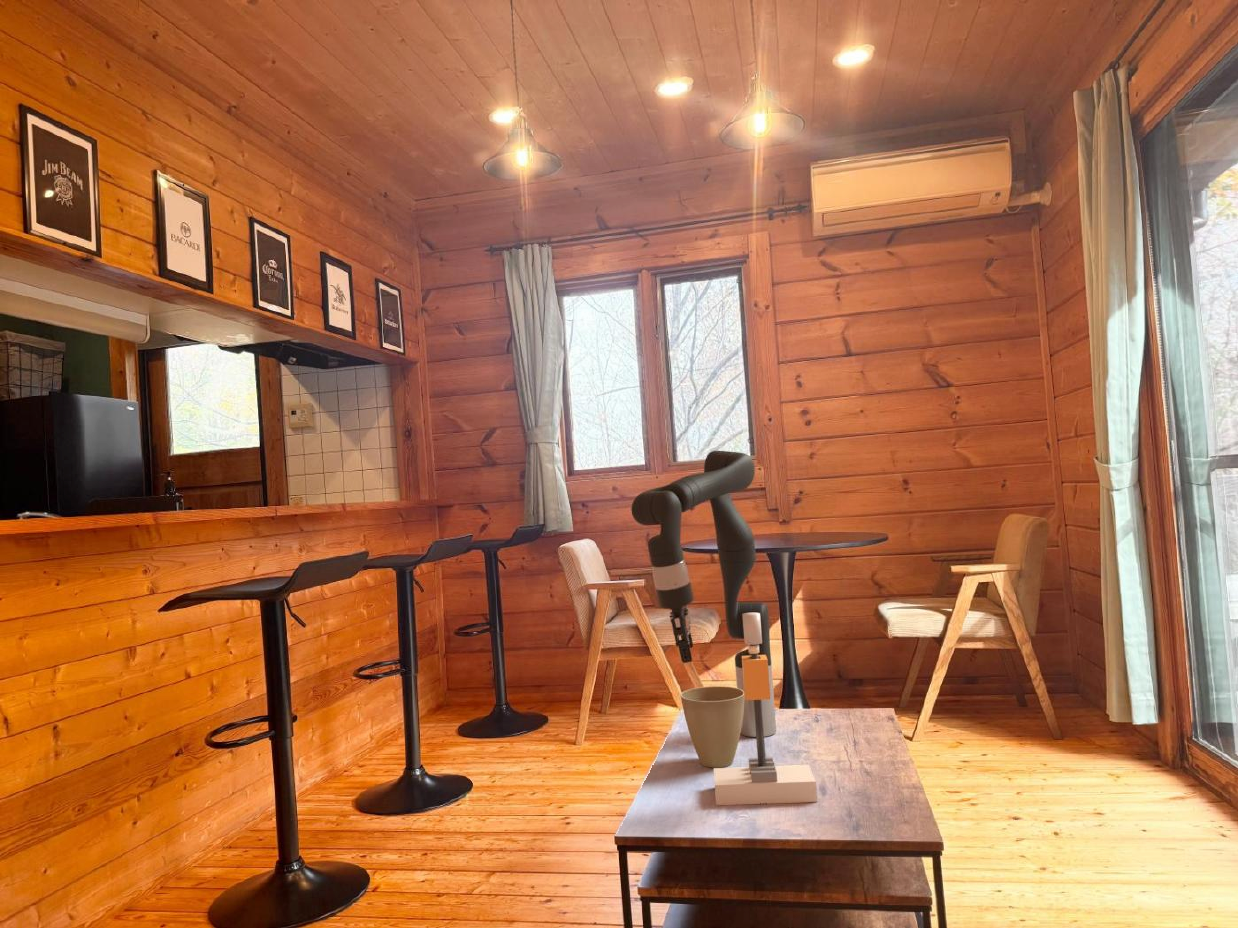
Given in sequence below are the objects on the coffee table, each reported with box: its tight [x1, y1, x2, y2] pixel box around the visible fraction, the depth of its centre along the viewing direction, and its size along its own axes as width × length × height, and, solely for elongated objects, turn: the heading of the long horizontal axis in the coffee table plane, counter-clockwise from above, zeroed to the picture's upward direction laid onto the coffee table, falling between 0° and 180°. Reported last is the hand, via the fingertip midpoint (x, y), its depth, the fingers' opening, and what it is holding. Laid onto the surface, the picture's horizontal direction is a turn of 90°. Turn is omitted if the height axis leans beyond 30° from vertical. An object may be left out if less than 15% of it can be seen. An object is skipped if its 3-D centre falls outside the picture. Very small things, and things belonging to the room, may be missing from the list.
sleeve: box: [742, 655, 771, 700], centre depth 173 cm, size 5×5×8 cm
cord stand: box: [713, 612, 818, 806], centre depth 173 cm, size 10×20×37 cm, turn 85°
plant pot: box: [680, 685, 745, 768], centre depth 194 cm, size 15×15×16 cm
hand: (687, 654), depth 180 cm, fingers open, 8 cm apart
